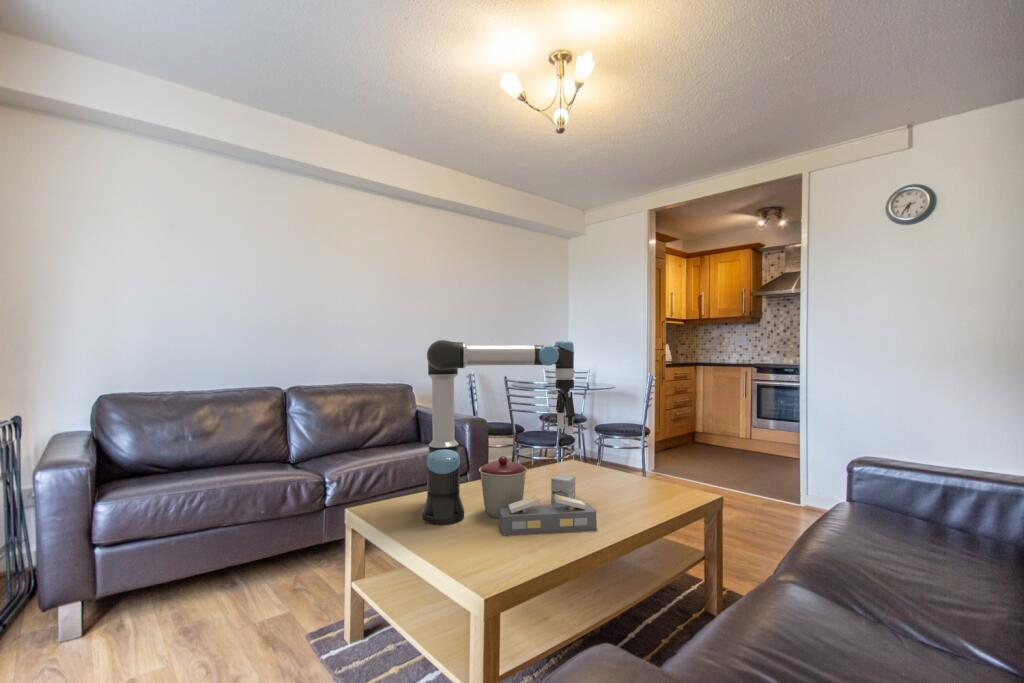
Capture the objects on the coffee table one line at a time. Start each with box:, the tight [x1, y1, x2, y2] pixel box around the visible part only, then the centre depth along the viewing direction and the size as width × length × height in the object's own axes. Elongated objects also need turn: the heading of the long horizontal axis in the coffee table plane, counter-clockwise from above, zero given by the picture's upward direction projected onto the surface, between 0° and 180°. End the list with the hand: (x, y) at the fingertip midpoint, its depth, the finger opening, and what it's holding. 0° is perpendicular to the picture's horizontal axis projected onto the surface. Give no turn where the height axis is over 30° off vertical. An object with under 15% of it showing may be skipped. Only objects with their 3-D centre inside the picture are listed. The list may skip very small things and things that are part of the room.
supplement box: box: [550, 473, 576, 505], centre depth 180 cm, size 7×7×13 cm
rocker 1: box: [509, 494, 540, 513], centre depth 161 cm, size 10×5×2 cm, turn 99°
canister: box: [478, 456, 528, 519], centre depth 176 cm, size 18×18×21 cm
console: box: [498, 502, 598, 536], centre depth 162 cm, size 32×9×8 cm, turn 98°
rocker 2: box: [554, 494, 586, 509], centre depth 163 cm, size 10×5×2 cm, turn 98°
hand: (565, 431), depth 192 cm, fingers open, 13 cm apart
